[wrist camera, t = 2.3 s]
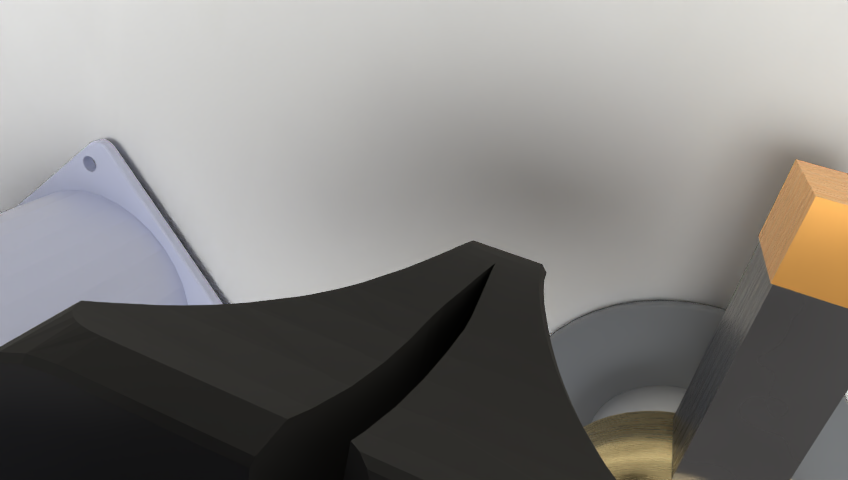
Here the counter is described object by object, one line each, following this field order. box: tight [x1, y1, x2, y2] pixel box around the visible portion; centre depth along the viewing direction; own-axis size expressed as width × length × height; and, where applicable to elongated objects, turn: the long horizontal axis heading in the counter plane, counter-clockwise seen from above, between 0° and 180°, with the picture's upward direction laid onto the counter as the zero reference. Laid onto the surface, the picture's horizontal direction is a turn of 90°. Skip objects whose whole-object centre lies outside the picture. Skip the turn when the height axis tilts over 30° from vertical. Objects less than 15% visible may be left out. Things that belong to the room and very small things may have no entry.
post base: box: [550, 300, 848, 480], centre depth 17 cm, size 9×9×2 cm
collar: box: [583, 159, 848, 480], centre depth 13 cm, size 12×6×2 cm, turn 169°
